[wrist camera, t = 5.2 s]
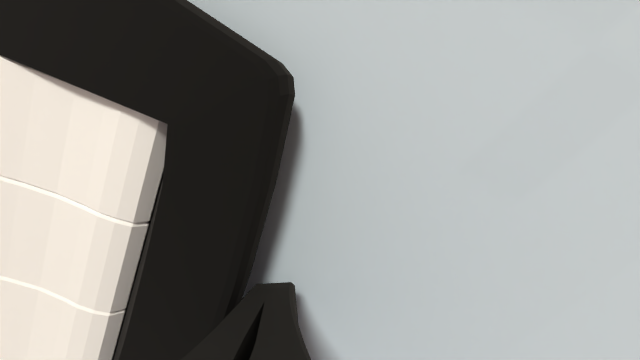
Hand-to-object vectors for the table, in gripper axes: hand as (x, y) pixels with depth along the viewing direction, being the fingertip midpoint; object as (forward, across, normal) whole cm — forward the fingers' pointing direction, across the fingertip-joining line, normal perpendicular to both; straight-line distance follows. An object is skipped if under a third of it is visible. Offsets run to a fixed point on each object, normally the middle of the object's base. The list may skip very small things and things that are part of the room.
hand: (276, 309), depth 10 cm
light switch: (+2, +8, -2) cm, 8 cm away
